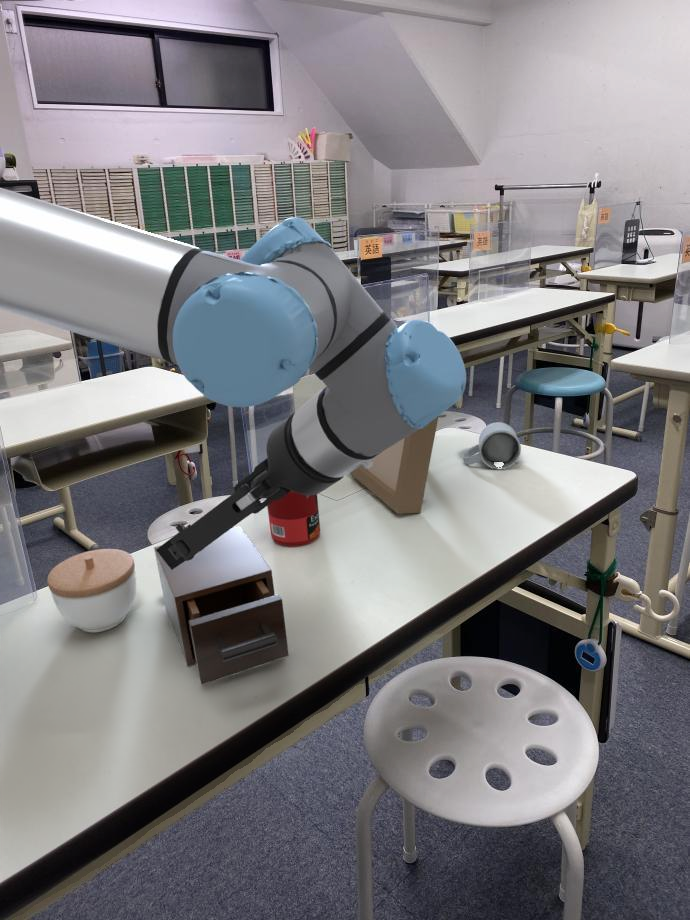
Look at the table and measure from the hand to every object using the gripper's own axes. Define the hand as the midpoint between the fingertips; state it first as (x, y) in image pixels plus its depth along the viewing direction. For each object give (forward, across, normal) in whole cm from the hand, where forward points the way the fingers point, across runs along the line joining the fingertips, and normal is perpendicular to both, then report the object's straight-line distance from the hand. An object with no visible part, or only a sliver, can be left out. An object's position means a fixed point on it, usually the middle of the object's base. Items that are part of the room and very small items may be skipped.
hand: (208, 525), depth 77 cm
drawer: (+8, -2, -14) cm, 16 cm away
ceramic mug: (+7, +66, -25) cm, 71 cm away
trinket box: (+26, -4, -2) cm, 26 cm away
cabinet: (+14, +2, -11) cm, 18 cm away
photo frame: (+14, +50, -17) cm, 55 cm away
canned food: (+19, +26, -11) cm, 34 cm away
